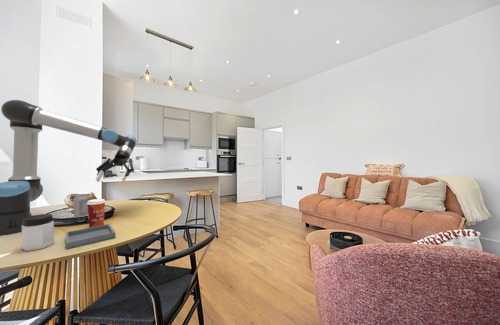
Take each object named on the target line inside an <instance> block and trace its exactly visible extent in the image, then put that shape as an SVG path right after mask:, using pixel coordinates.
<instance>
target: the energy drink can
mask: <svg viewBox="0 0 500 325" xmlns="http://www.w3.org/2000/svg"><path fill="white" fill-rule="evenodd" d="M88 201H89V196H88V195H87V193H79V194H75V196H74V198H73V218H74V217H84V216H87V215H88V204H87V203H88Z"/></svg>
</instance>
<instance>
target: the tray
mask: <svg viewBox="0 0 500 325" xmlns="http://www.w3.org/2000/svg"><path fill="white" fill-rule="evenodd" d="M112 239H116V231H115V230H114V228H113V227H112V225H111V223H107V224H104V225H101V226H96V227H91V228H90V227H87V228H81V229H75V230H71V231H66V232H65V249H66V250H70V249H74V248H78V247H82V246H86V245H91V244H95V243H100V242H103V241H107V240H112Z"/></svg>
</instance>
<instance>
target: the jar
mask: <svg viewBox="0 0 500 325" xmlns="http://www.w3.org/2000/svg"><path fill="white" fill-rule="evenodd" d="M53 219H54V217H53V214H52V213H45V214H44V213H42V214H35V215H32V216H29V217H26V218H24V219H23V225H22V231H21V249H22V250H24V251H25V252H30V251H36V250H37V251H38V250H42V249H44V248H47V247H49V246H51V245H53V244H55V231H54V230H55V229H54V227H55V226H54V223H55V222H54V220H53Z"/></svg>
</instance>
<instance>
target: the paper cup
mask: <svg viewBox="0 0 500 325" xmlns="http://www.w3.org/2000/svg"><path fill="white" fill-rule="evenodd" d="M106 203H107V202H106V199H104V198H95V199H90V200H89V199H88V203H87V204H88V224H89V227H88V228H91V227H96V226H101V225H105V224H104V221H105V207H106Z"/></svg>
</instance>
